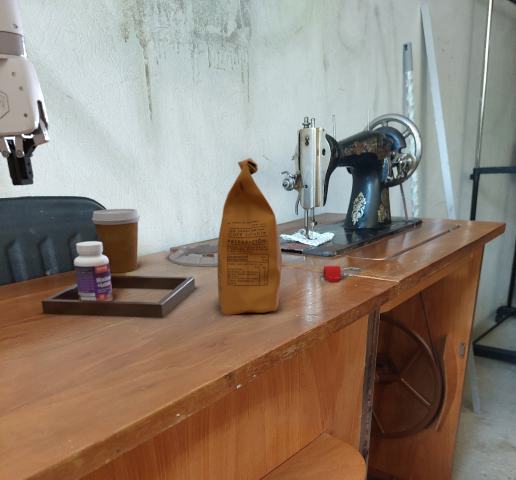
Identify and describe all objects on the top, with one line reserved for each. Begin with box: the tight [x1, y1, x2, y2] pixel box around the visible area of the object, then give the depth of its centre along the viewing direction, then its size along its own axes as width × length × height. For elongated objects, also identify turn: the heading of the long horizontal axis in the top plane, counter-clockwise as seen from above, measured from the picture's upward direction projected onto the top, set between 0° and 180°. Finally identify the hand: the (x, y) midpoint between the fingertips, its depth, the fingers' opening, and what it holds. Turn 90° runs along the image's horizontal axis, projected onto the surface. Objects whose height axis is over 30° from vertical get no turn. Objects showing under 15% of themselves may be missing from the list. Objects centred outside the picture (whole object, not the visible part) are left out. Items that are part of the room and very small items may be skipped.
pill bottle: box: [73, 240, 114, 301], centre depth 84 cm, size 5×5×10 cm
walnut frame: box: [41, 274, 196, 319], centre depth 85 cm, size 19×17×2 cm
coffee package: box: [217, 157, 283, 316], centre depth 78 cm, size 10×12×22 cm
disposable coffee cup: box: [91, 208, 141, 274], centre depth 107 cm, size 10×10×12 cm
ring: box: [169, 243, 218, 267], centre depth 119 cm, size 19×19×2 cm
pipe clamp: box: [323, 265, 342, 283], centre depth 99 cm, size 8×3×2 cm, turn 179°
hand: (23, 184), depth 81 cm, fingers closed
